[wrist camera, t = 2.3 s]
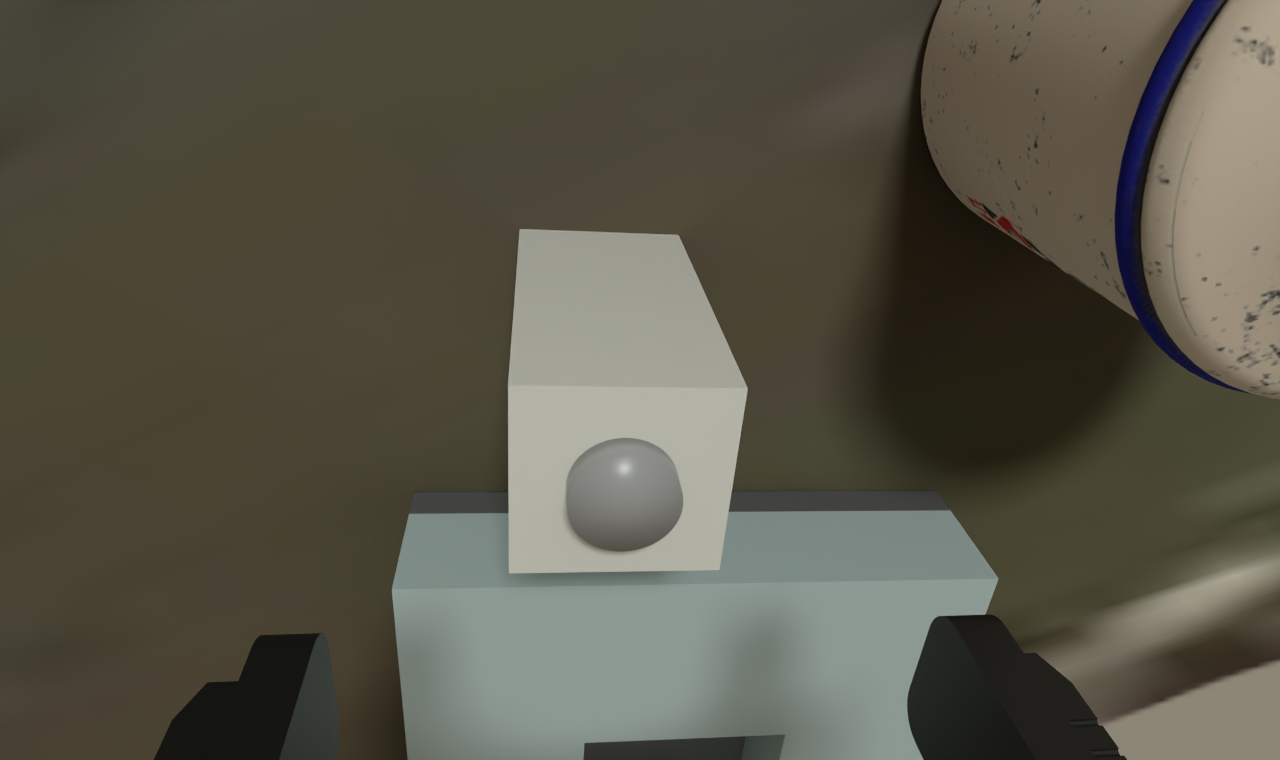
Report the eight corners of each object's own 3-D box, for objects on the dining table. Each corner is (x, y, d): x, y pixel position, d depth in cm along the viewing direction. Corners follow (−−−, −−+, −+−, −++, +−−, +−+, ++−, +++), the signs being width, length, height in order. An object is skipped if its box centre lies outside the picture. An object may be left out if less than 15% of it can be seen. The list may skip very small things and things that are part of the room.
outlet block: (936, 490, 26) (998, 578, 22) (831, 840, 34) (864, 943, 31) (414, 492, 24) (392, 589, 20) (440, 863, 32) (427, 976, 29)
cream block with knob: (678, 235, 21) (756, 406, 13) (664, 373, 23) (725, 592, 15) (519, 229, 20) (506, 404, 13) (519, 371, 22) (507, 596, 15)
